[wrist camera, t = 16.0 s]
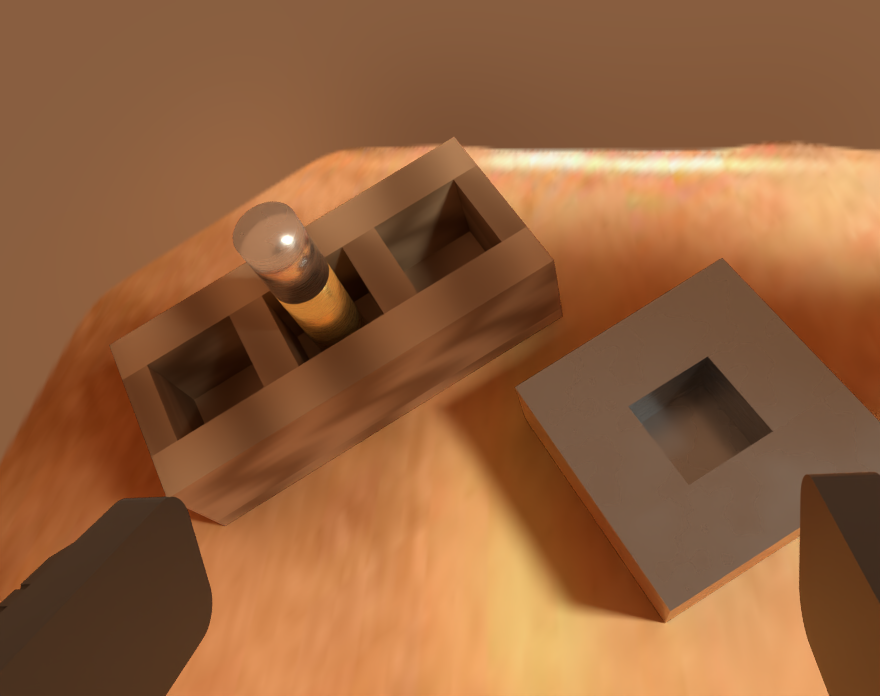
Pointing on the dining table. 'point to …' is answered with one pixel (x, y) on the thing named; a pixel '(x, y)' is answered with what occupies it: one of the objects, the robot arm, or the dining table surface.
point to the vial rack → (350, 360)
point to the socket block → (697, 433)
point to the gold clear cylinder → (296, 273)
